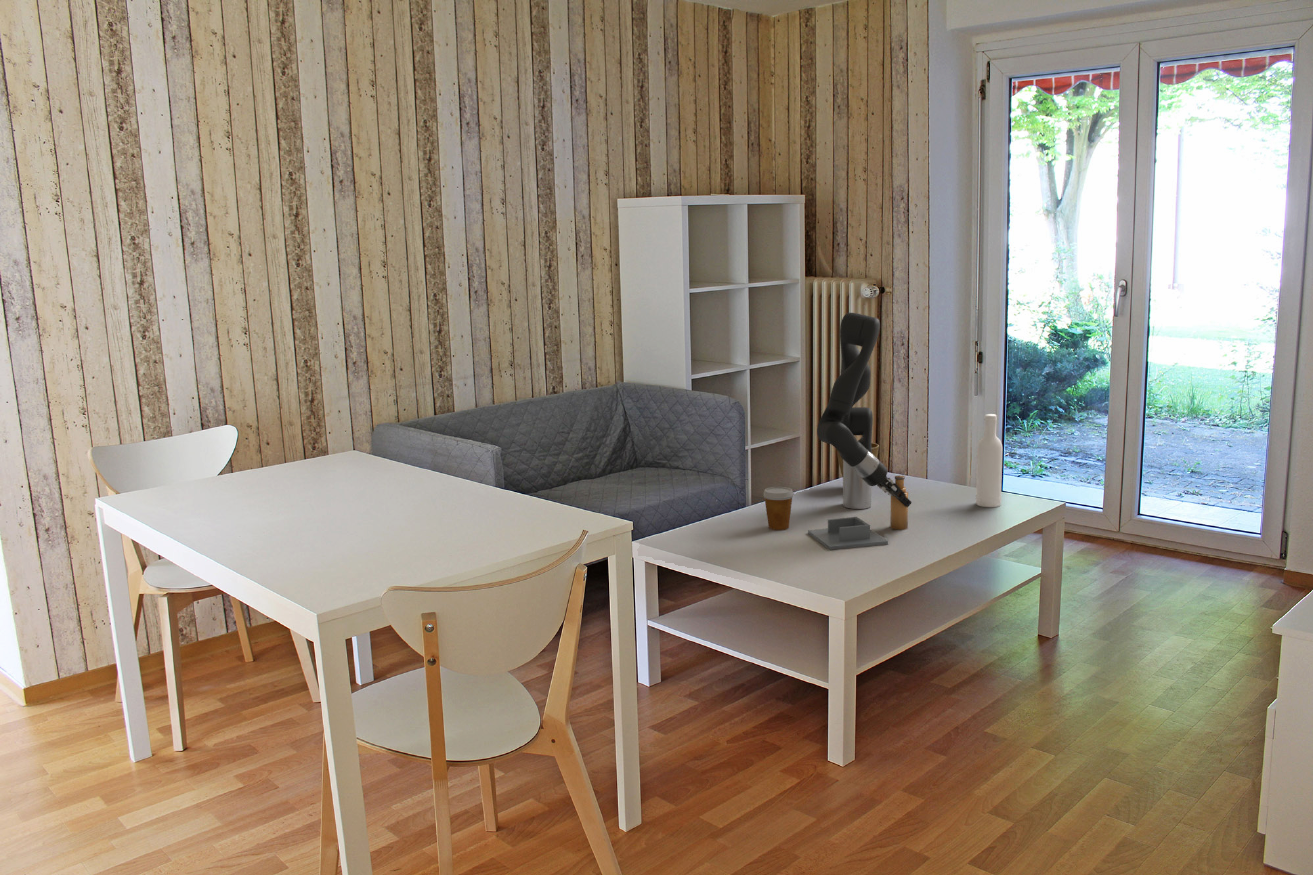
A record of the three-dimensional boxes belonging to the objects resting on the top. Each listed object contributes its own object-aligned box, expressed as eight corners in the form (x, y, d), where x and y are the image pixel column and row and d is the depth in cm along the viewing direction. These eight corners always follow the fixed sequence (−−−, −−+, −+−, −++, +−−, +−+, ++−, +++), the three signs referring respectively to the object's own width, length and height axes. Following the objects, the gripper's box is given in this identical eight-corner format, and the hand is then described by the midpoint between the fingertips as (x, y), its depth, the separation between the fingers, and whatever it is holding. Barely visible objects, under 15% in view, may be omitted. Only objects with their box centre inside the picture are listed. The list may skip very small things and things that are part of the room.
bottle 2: (1002, 507, 332) (1005, 417, 327) (977, 507, 334) (979, 417, 328) (999, 501, 340) (1002, 412, 334) (974, 501, 341) (977, 412, 336)
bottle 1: (887, 526, 316) (887, 475, 313) (902, 524, 317) (903, 474, 314) (895, 530, 311) (896, 479, 308) (910, 528, 312) (911, 477, 309)
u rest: (829, 550, 294) (829, 533, 293) (807, 533, 311) (807, 517, 310) (888, 544, 297) (888, 527, 296) (863, 528, 314) (863, 512, 314)
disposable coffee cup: (800, 526, 319) (799, 489, 316) (782, 533, 312) (781, 495, 309) (775, 521, 325) (775, 485, 323) (757, 528, 318) (756, 490, 316)
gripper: (886, 463, 301) (923, 499, 306) (867, 453, 315) (902, 488, 320) (869, 481, 301) (907, 517, 306) (851, 471, 315) (886, 506, 320)
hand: (904, 502), depth 313 cm, fingers closed on bottle 1, 5 cm apart
